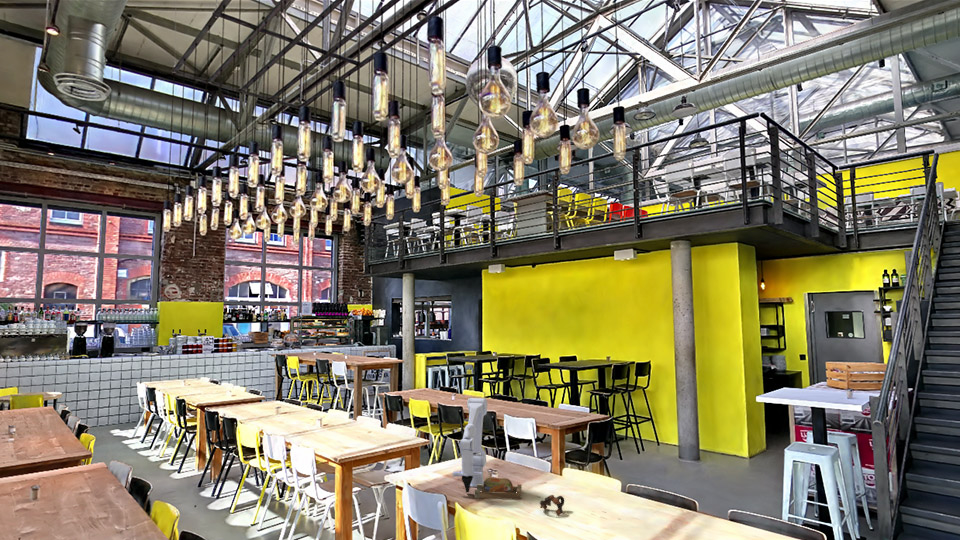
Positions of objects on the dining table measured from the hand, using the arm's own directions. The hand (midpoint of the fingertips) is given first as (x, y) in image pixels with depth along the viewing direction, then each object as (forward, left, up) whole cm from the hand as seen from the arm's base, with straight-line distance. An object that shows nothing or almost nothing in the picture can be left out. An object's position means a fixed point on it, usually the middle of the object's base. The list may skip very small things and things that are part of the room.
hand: (467, 491), depth 260 cm
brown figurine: (+21, +42, -1) cm, 47 cm away
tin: (0, +15, -1) cm, 15 cm away
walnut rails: (0, +15, -1) cm, 15 cm away
